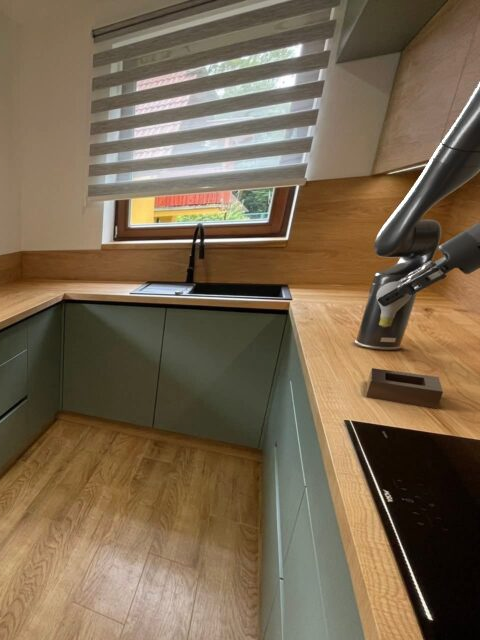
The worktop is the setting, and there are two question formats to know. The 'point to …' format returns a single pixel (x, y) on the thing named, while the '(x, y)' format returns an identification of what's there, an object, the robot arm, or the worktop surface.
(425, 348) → the worktop surface
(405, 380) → the socket block
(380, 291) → the light bulb
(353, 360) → the worktop surface
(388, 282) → the robot arm
